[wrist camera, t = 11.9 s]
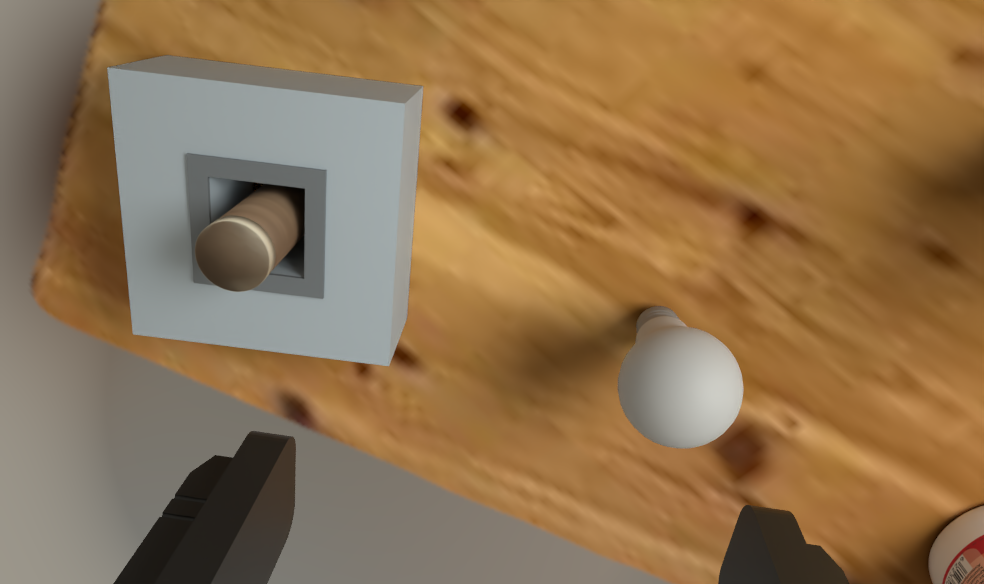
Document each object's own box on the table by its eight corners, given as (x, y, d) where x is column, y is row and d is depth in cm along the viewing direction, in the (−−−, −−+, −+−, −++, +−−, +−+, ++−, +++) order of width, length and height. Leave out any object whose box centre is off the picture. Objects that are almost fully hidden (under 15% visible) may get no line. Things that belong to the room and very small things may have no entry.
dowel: (268, 164, 42) (192, 216, 33) (328, 171, 42) (269, 225, 33) (269, 221, 43) (196, 287, 34) (327, 228, 43) (270, 296, 34)
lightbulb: (619, 374, 46) (643, 486, 36) (592, 289, 44) (609, 382, 34) (717, 348, 45) (770, 456, 35) (694, 259, 43) (743, 346, 33)
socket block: (166, 55, 40) (105, 68, 34) (423, 86, 40) (404, 104, 34) (181, 290, 45) (131, 335, 40) (406, 318, 45) (388, 367, 39)
